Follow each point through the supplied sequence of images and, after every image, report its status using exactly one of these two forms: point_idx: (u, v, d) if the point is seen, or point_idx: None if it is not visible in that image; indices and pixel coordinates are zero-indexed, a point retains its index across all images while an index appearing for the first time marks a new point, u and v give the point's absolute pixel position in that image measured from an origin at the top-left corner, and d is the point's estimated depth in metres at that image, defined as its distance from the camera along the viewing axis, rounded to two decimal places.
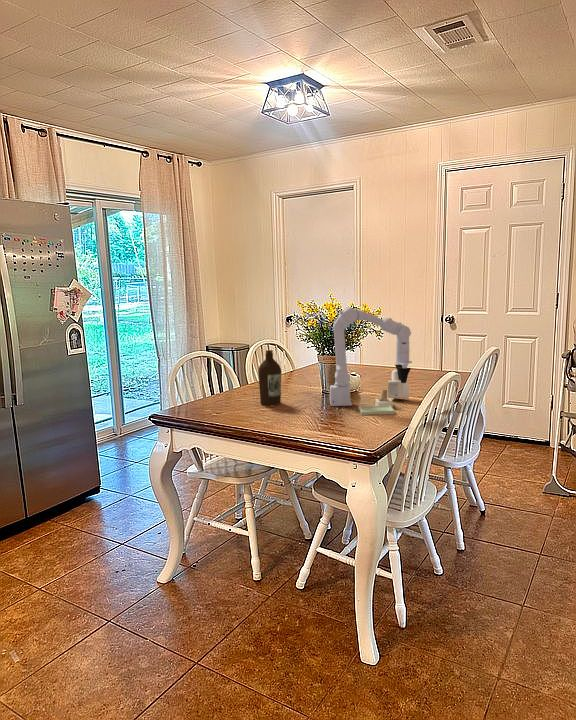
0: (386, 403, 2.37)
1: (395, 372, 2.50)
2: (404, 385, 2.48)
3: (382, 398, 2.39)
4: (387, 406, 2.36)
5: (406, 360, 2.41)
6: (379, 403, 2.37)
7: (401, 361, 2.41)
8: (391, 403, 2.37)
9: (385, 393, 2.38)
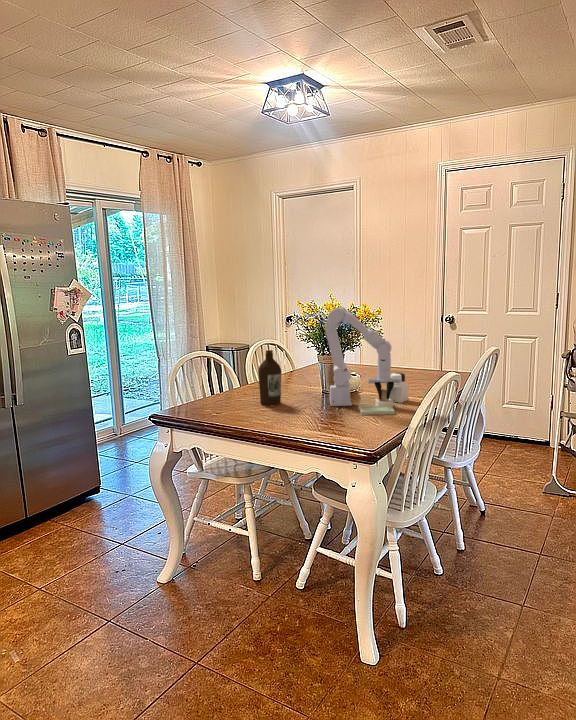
0: (386, 403, 2.37)
1: (393, 377, 2.47)
2: (402, 390, 2.46)
3: (382, 398, 2.39)
4: (387, 406, 2.36)
5: (379, 377, 2.37)
6: (379, 403, 2.37)
7: None
8: (391, 403, 2.37)
9: (385, 393, 2.38)
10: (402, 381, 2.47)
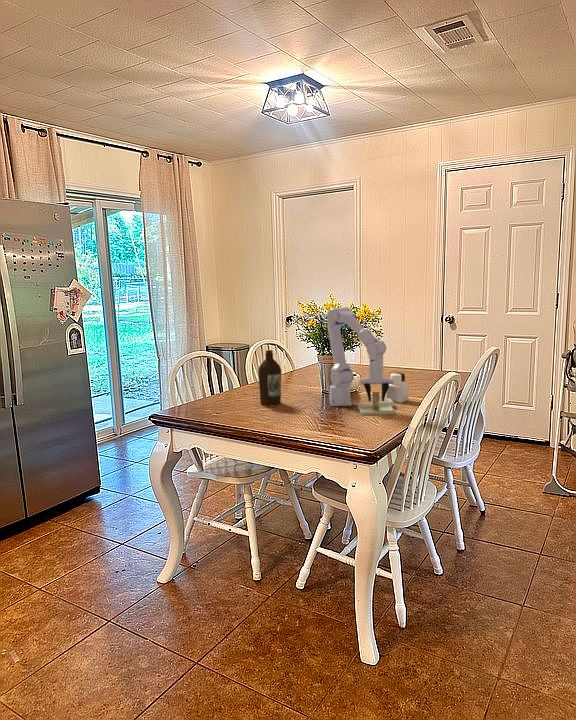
0: (386, 403, 2.37)
1: (393, 377, 2.47)
2: (402, 390, 2.46)
3: (374, 401, 2.30)
4: (387, 406, 2.36)
5: (370, 378, 2.28)
6: (379, 403, 2.37)
7: None
8: (391, 403, 2.37)
9: (377, 396, 2.29)
10: (402, 381, 2.47)
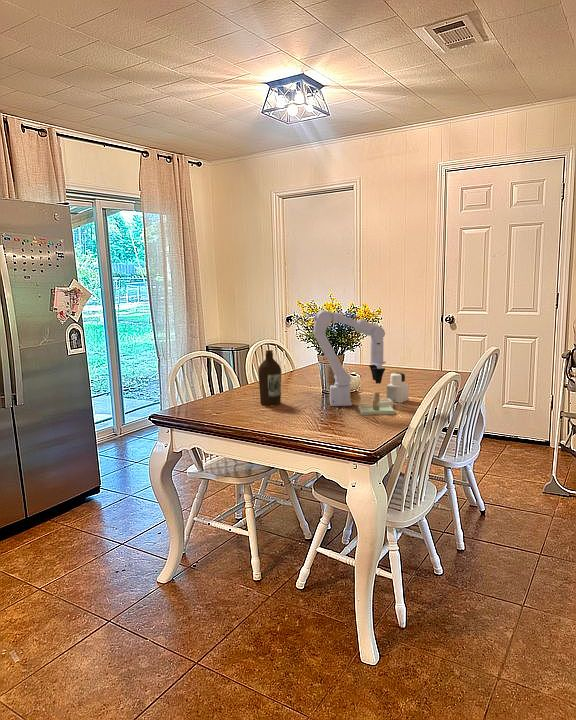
0: (386, 403, 2.37)
1: (393, 377, 2.47)
2: (402, 390, 2.46)
3: (374, 401, 2.30)
4: (387, 406, 2.36)
5: (380, 360, 2.42)
6: (379, 403, 2.37)
7: (375, 362, 2.42)
8: (391, 403, 2.37)
9: (377, 396, 2.29)
10: (402, 381, 2.47)
